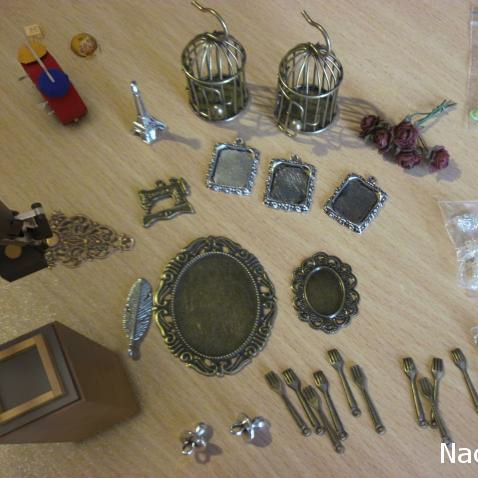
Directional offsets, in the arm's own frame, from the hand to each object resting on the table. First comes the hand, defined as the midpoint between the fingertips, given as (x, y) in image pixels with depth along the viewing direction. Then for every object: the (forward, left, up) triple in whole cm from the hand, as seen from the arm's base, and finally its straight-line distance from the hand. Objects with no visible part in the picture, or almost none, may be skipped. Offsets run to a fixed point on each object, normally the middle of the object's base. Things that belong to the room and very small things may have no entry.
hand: (21, 256), depth 77 cm
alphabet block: (+10, +68, -36) cm, 78 cm away
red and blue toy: (+9, +47, -36) cm, 60 cm away
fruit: (+20, +59, -36) cm, 72 cm away
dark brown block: (0, 0, -1) cm, 1 cm away
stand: (-5, -16, -36) cm, 39 cm away
